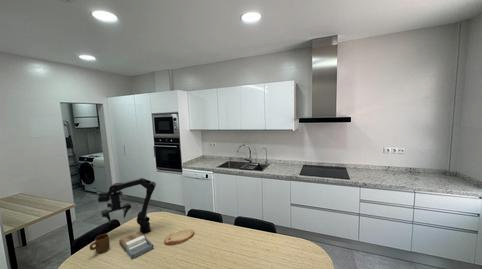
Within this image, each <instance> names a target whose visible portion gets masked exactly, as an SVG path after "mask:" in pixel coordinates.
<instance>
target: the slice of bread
mask: <svg viewBox="0 0 482 269" xmlns="http://www.w3.org/2000/svg"><path fill="white" fill-rule="evenodd" d="M194 235H195V231H194V230H193V229H184V230H179V231H176V232H173V233H170V234H169V235H167V236H166V237H165V239H164V240H163V244H164V246H165V245H166V246H177V245H179V244H182V243H185V242H187V241H189V240H190V239H192V238H193V237H194Z"/></svg>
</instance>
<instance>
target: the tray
mask: <svg viewBox="0 0 482 269" xmlns="http://www.w3.org/2000/svg"><path fill="white" fill-rule="evenodd" d="M145 240H146V241H147V245H145V246H143V247H141V248H138V249H136V250H134V251H132V252H131V251H130V250H129V249H128V247H125V248H126V251H125V252H126V254H127V255H128V257H129V258H130V259H131V260H134V259H136V258H139V257H140V256H142V255H144V254H146V253H148V252H150V251H152V250H154V248H155V247H154V243H152V241H151V240H150V239H148V238H145Z"/></svg>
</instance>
